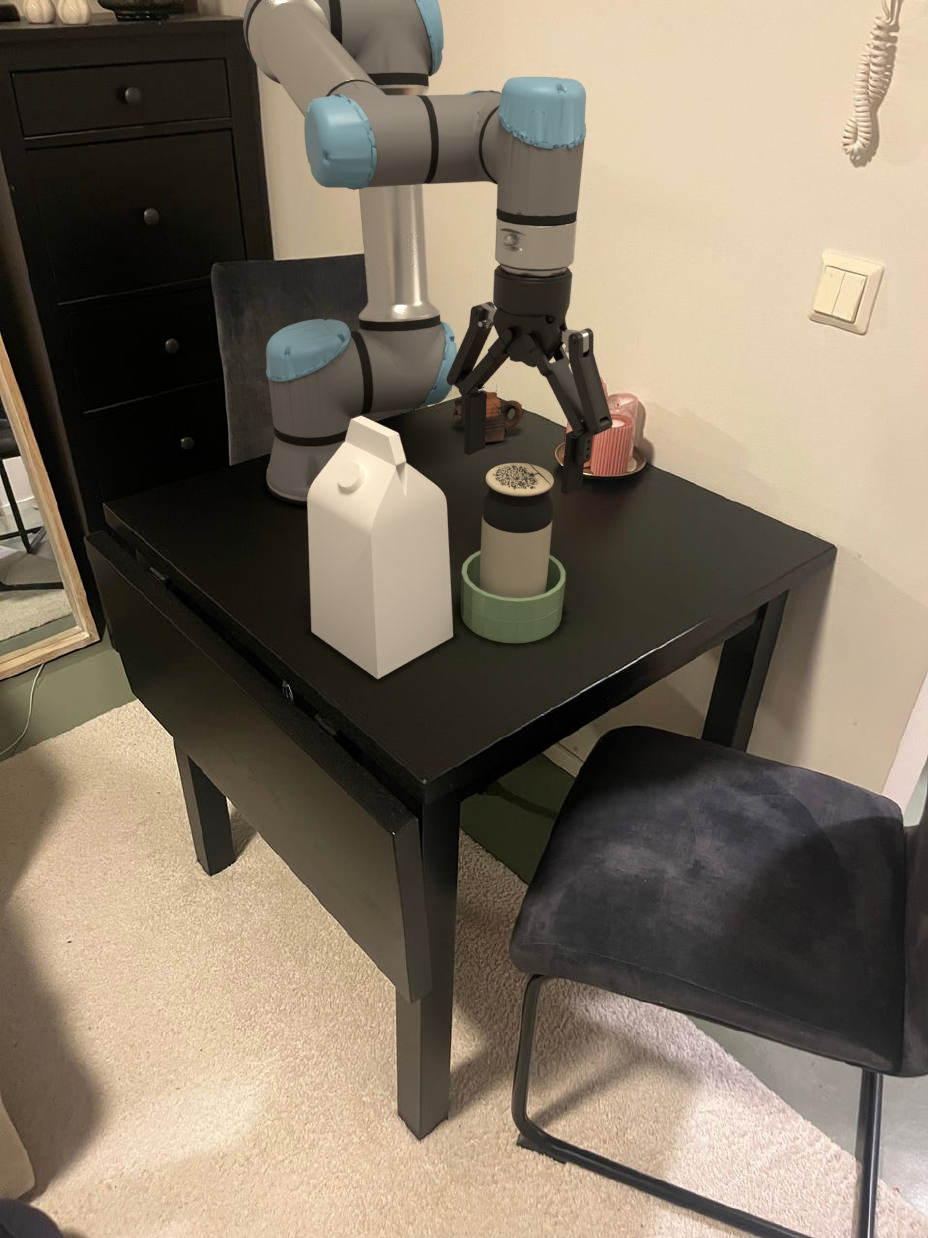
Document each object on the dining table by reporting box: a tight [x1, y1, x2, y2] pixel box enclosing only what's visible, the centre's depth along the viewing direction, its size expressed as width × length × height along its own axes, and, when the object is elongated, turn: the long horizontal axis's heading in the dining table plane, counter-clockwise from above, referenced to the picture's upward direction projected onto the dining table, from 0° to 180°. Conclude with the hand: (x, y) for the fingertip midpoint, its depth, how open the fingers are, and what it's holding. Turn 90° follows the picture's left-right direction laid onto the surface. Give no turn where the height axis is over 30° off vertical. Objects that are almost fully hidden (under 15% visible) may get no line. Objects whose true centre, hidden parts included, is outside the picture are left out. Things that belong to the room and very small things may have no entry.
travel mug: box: [479, 462, 555, 598], centre depth 104 cm, size 8×8×18 cm
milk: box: [306, 415, 454, 680], centre depth 98 cm, size 12×12×26 cm
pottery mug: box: [451, 391, 525, 443], centre depth 152 cm, size 12×10×8 cm
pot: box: [460, 549, 567, 644], centre depth 108 cm, size 12×12×6 cm
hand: (521, 469), depth 98 cm, fingers open, 13 cm apart
